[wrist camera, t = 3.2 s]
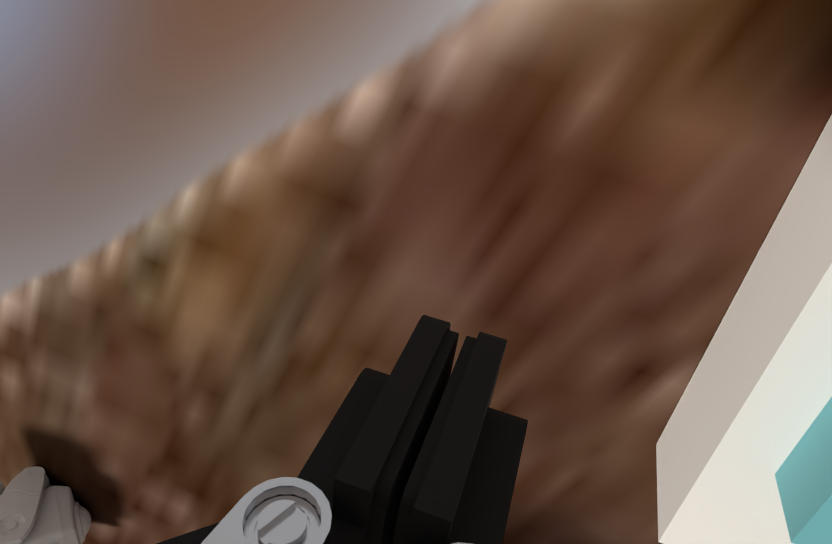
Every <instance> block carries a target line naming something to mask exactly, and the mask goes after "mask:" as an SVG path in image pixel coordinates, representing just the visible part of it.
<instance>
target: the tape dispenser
mask: <svg viewBox="0 0 832 544" xmlns="http://www.w3.org/2000/svg"><path fill="white" fill-rule="evenodd" d="M90 526H91V516H90V514H89V512H88V510H87V509H86V508H84V507H82V506H80V504H79V503H78V502H76V501H74V498H73V494H72V491H71V488H69V487H68V486H51V485H50V483H49V479H48V477H47V475H46V472H45V470H44V468H43V467H35V466H33V467H28V468H26V469H24V470H23V471H22V472H21V473H19V474H18V475H17V476H16V477H15V478H14V479H13V480H12V481H11V482H10V483H9V485H8V486H7V487H6V489H5V487H4V485H3V483H2V481H0V544H83V542H84V541H85V536H86V534H87V533H88V531H89V529H90Z"/></svg>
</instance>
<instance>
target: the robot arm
mask: <svg viewBox="0 0 832 544" xmlns="http://www.w3.org/2000/svg"><path fill="white" fill-rule="evenodd" d="M458 336H459V333H456V332H453V331H450V323H449V322H446V321H443V320H439V319H436V318H433V317H429V316H426V315H423V316H422V317H421V319H420V320H419V322H418V324H417V326H416V328H415V330H414V332H413V333H412V335H411V337H410V339H409V341H408V343H407V345H406V346H405V348H404V350H403V352H402V354H401V356H400V357H399V359H398V361H397V363H396V365H395V367H394V369H393V370H392V372H391V374H390V375H388V374H385V373H382V372H379V371H375V370H372V369H369V368H365V369H364V370H363V371H362V372H361V374H360V375H359V377H358V378H357V380H356V382H355V383H354V385H353V387H352V388H351V390H350V392H349V393H348V395H347V396H346V398H345V400H344V401H343V403H342V405H341V406H340V408H339V410H338V411H337V413H336V415H335V416H334V418H333V419H332V421H331V423H330V424H329V426H328V428H327V429H326V431H325V433H324V434H323V436H322V438H321V439H320V441H319V443H318V444H317V446H316V447H315V449H314V451H313V452H312V454H311V456H310V457H309V459H308V461H307V462H306V464H305V466H304V467H303V469H302V471H301V472H300V474H299V475H298V477H297V478H292V477H281V478H276V479H270V480H268V481H265V482H263V483H261V484H259V485H257V486H255V487H254V488H253V489H252V490H250V491H249V492H248V493H247V494H246V495H244V496H243V497H242V499H241V500H240V501H239V502H238V503H237V504H236V505H235V506H234V507H233V508H232V510H231V511H230V512H229V513H228V514H227V515H226V516H225V517H224V518H223V520H222V521H221V522H219V523H216V524H213V525H210V526H207V527H204V528H201V529H198V530H195V531H192V532H189V533H187V534H184V535H181V536H178V537H175V538H172V539H169V540H166V541H163V542H160V543H157V544H502V542H503V537H504V532H505V528H506V523H507V518H508V513H509V509H510V504H511V499H512V495H513V490H514V485H515V481H516V476H517V471H518V466H519V462H520V457H521V452H522V448H523V443H524V438H525V433H526V429H527V423H528V420H526V419H523V418H520V417H517V416H513V415H510V414H507V413H504V412H501V411H498V410H495V409H492V408H489V405H490V401H491V398H492V394H493V391H494V387H495V383H496V380H497V376H498V372H499V369H500V365H501V362H502V358H503V354H504V351H505V347H506V343H507V340H506V339H503V338H499V337H496V336H493V335H489V334H486V333H483V332H480V333H479V335H478V337H477V339H476V338H473V337H470V336H467V337H466V339H465V341H464V344H463V346H462V349H461V351H460V354H459V356H458V359H457V361H456V363H455V366H454V368H453V371H452V373H451V370H452V365H453V360H454V356H455V351H456V346H457V341H458ZM450 374H451V376H450Z"/></svg>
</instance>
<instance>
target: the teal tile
mask: <svg viewBox="0 0 832 544" xmlns="http://www.w3.org/2000/svg"><path fill="white" fill-rule="evenodd" d="M775 478H776V482H777V486H778V490H779V494H780V499H781V503H782V507H783V511H784V515H785V520H786V524H787V528H788V532H789V536H790V541H791V543H794V544H832V397H831V398H830V400H829V401H828V402H827V404H826V405H825V406H824V408H823V409H822V410H821V412H820V413H819V415H818V416H817V417H816V419H815V420H814V421H813V423H812V424H811V425H810V427H809V428H808V430H807V431H806V432H805V434H804V435H803V436H802V438H801V439H800V440H799V442H798V443H797V445H796V446H795V447H794V449H793V450H792V451H791V453H790V454H789V455H788V457H787V458H786V460H785V461H784V462H783V464H782V465H781V466H780V468H779V469H778V470H777V472H776V473H775Z"/></svg>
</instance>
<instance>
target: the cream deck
mask: <svg viewBox="0 0 832 544" xmlns="http://www.w3.org/2000/svg"><path fill="white" fill-rule="evenodd" d="M831 397H832V115H831V116H830V118H829V120H828V122H827V124H826V126H825V128H824V130H823V131H822V133H821V135H820V137H819V139H818V141H817V143H816V145H815V147H814V148H813V150H812V152H811V154H810V156H809V158H808V160H807V162H806V163H805V165H804V167H803V169H802V171H801V173H800V175H799V177H798V179H797V180H796V182H795V184H794V186H793V188H792V190H791V192H790V194H789V195H788V197H787V199H786V201H785V203H784V205H783V207H782V209H781V211H780V212H779V214H778V216H777V218H776V220H775V222H774V224H773V226H772V227H771V229H770V231H769V233H768V235H767V237H766V239H765V241H764V243H763V244H762V246H761V248H760V250H759V252H758V254H757V256H756V258H755V259H754V261H753V263H752V265H751V267H750V269H749V271H748V273H747V275H746V276H745V278H744V280H743V282H742V284H741V286H740V288H739V290H738V291H737V293H736V295H735V297H734V299H733V301H732V303H731V305H730V307H729V308H728V310H727V312H726V314H725V316H724V318H723V320H722V322H721V323H720V325H719V327H718V329H717V331H716V333H715V335H714V337H713V339H712V340H711V342H710V344H709V346H708V348H707V350H706V352H705V354H704V355H703V357H702V359H701V361H700V363H699V365H698V367H697V369H696V371H695V372H694V374H693V376H692V378H691V380H690V382H689V384H688V386H687V387H686V389H685V391H684V393H683V395H682V397H681V399H680V401H679V403H678V404H677V406H676V408H675V410H674V412H673V414H672V416H671V418H670V419H669V421H668V423H667V425H666V427H665V429H664V431H663V433H662V435H661V436H660V438H659V440H658V442H657V444H656V450H657V498H658V542H660V543H663V544H794V543H791V541H790V536H789V532H788V528H787V524H786V520H785V515H784V511H783V507H782V503H781V499H780V494H779V490H778V486H777V482H776V478H775V473H776V472H777V470H778V469H779V468H780V466H781V465H782V464H783V462H784V461H785V460H786V458H787V457H788V455H789V454H790V453H791V451H792V450H793V449H794V447H795V446H796V445H797V443H798V442H799V440H800V439H801V438H802V436H803V435H804V434H805V432H806V431H807V430H808V428H809V427H810V425H811V424H812V423H813V421H814V420H815V419H816V417H817V416H818V415H819V413H820V412H821V410H822V409H823V408H824V406H825V405H826V404H827V402H828V401H829V400H830V398H831Z"/></svg>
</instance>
